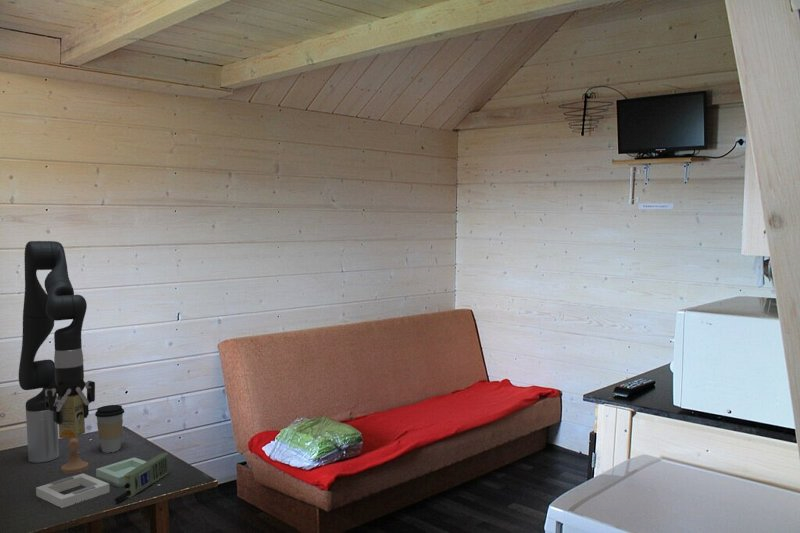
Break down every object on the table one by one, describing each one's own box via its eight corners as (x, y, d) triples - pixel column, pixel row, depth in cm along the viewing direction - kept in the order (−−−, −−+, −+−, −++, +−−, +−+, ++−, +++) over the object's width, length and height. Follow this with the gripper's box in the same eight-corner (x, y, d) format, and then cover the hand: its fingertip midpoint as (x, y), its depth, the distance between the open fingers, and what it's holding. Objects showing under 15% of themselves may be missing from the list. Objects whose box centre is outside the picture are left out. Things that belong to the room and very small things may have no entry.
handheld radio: (171, 473, 217) (122, 505, 193) (162, 473, 218) (112, 504, 194) (169, 452, 217) (120, 481, 193) (160, 452, 218) (110, 481, 193)
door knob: (59, 444, 217) (60, 437, 224) (60, 475, 217) (61, 467, 225) (87, 440, 220) (87, 434, 227) (88, 471, 220) (88, 463, 228)
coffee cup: (101, 446, 245) (99, 404, 244) (129, 445, 246) (127, 403, 245) (92, 455, 236) (90, 412, 235) (121, 453, 237) (119, 410, 236)
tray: (96, 478, 213) (95, 469, 213) (134, 466, 224) (134, 457, 224) (118, 487, 206) (118, 477, 205) (157, 474, 216) (157, 465, 216)
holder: (36, 496, 200) (36, 486, 200) (83, 481, 211) (83, 472, 211) (61, 508, 191) (61, 498, 191) (109, 492, 202) (109, 482, 202)
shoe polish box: (85, 432, 203) (83, 392, 202) (76, 437, 198) (74, 396, 197) (68, 432, 203) (66, 392, 203) (59, 437, 198) (57, 396, 198)
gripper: (86, 358, 207) (89, 413, 208) (37, 367, 196) (40, 424, 197) (99, 361, 203) (102, 417, 204) (49, 370, 192) (52, 429, 193)
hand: (71, 420), depth 201 cm, fingers closed on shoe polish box, 7 cm apart
